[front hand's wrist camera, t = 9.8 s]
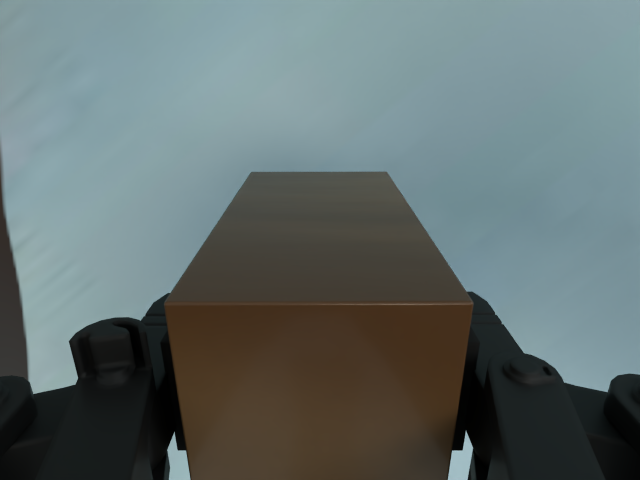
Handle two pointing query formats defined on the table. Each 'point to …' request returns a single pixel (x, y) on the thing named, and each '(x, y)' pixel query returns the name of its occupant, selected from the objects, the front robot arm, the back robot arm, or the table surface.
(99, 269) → the table surface
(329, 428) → the bar
